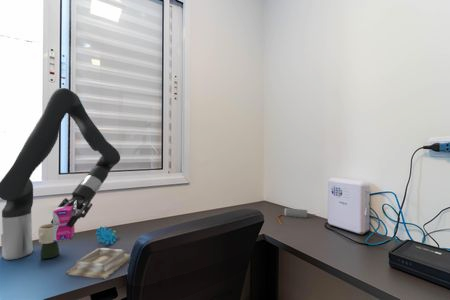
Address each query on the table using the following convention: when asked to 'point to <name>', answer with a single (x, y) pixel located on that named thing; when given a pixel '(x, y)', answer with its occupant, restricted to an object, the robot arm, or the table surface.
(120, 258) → the plate
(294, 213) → the motor
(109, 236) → the gear
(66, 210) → the supplement box
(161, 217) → the table surface
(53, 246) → the character mug
